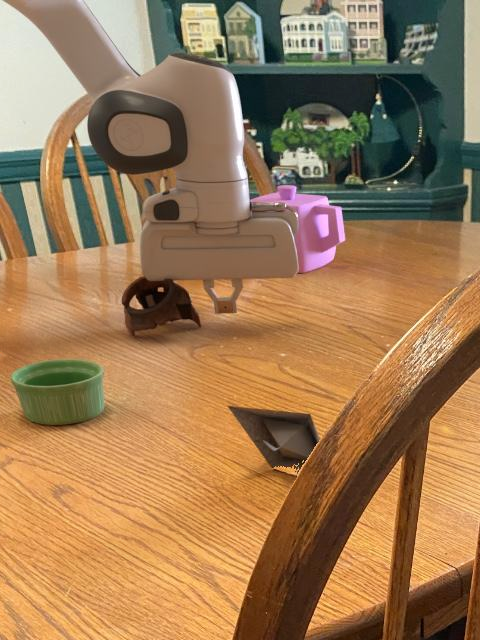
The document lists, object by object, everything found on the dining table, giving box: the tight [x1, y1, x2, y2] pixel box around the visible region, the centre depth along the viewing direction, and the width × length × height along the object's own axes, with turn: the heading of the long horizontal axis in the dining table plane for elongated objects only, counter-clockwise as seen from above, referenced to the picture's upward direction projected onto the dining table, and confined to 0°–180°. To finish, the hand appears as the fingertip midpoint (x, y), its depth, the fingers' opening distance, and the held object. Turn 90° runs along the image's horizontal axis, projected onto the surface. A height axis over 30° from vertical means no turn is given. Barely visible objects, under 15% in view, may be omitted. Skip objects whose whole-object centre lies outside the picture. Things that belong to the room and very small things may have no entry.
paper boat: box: [227, 405, 321, 477], centre depth 83 cm, size 12×6×9 cm
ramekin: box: [9, 358, 106, 426], centre depth 95 cm, size 9×9×4 cm
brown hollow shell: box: [121, 275, 202, 338], centre depth 121 cm, size 12×10×8 cm
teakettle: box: [250, 184, 346, 274], centre depth 154 cm, size 17×17×12 cm
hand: (226, 312), depth 123 cm, fingers closed
